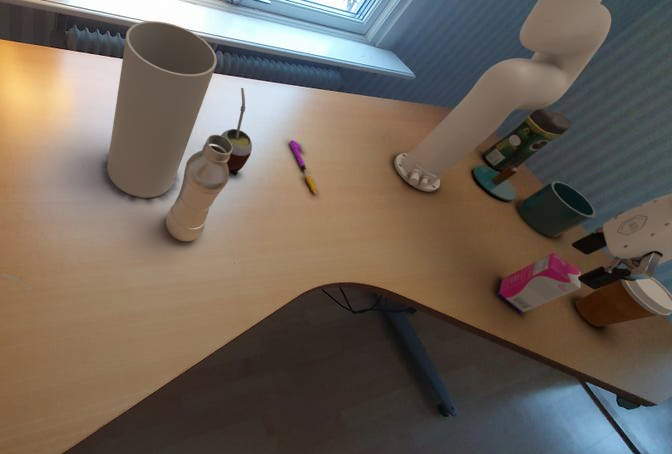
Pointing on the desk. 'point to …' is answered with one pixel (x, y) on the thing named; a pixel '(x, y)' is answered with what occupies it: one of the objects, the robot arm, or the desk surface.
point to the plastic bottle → (199, 188)
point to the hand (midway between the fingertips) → (582, 265)
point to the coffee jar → (527, 139)
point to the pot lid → (496, 181)
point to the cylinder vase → (157, 105)
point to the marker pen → (302, 164)
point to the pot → (556, 209)
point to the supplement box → (539, 283)
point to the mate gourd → (238, 144)
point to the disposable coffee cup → (625, 302)
